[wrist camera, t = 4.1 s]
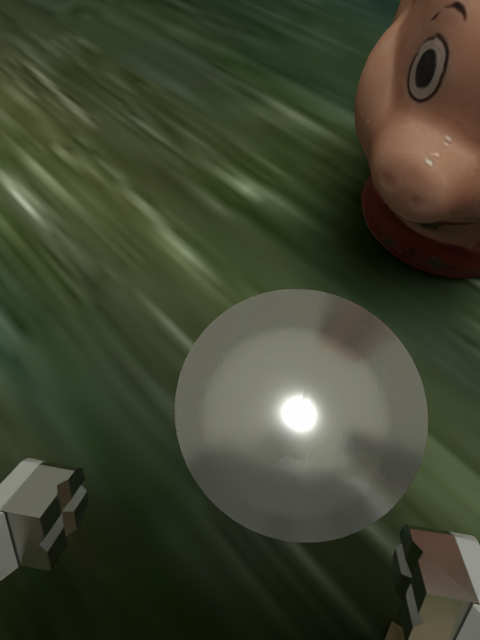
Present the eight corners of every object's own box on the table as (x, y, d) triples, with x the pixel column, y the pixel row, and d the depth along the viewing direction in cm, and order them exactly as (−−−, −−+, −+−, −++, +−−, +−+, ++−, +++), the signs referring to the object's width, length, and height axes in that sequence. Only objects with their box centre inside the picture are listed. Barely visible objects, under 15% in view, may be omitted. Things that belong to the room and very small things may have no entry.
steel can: (312, 533, 17) (363, 612, 7) (205, 464, 19) (123, 448, 9) (365, 420, 19) (468, 353, 9) (263, 364, 20) (250, 253, 10)
